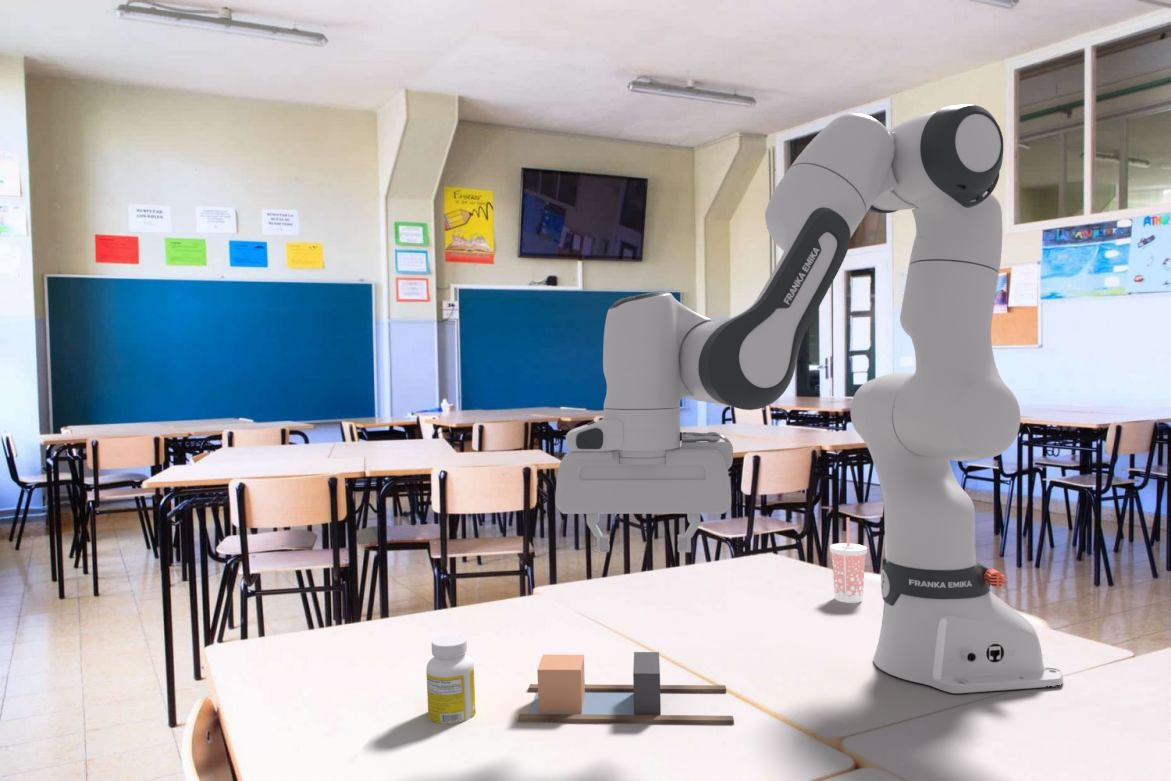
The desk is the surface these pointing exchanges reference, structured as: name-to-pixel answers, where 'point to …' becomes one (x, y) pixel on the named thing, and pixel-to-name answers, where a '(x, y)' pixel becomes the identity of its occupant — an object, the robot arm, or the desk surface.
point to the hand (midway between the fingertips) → (643, 551)
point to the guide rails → (634, 718)
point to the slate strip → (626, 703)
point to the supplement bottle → (450, 681)
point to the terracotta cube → (561, 684)
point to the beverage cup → (848, 570)
